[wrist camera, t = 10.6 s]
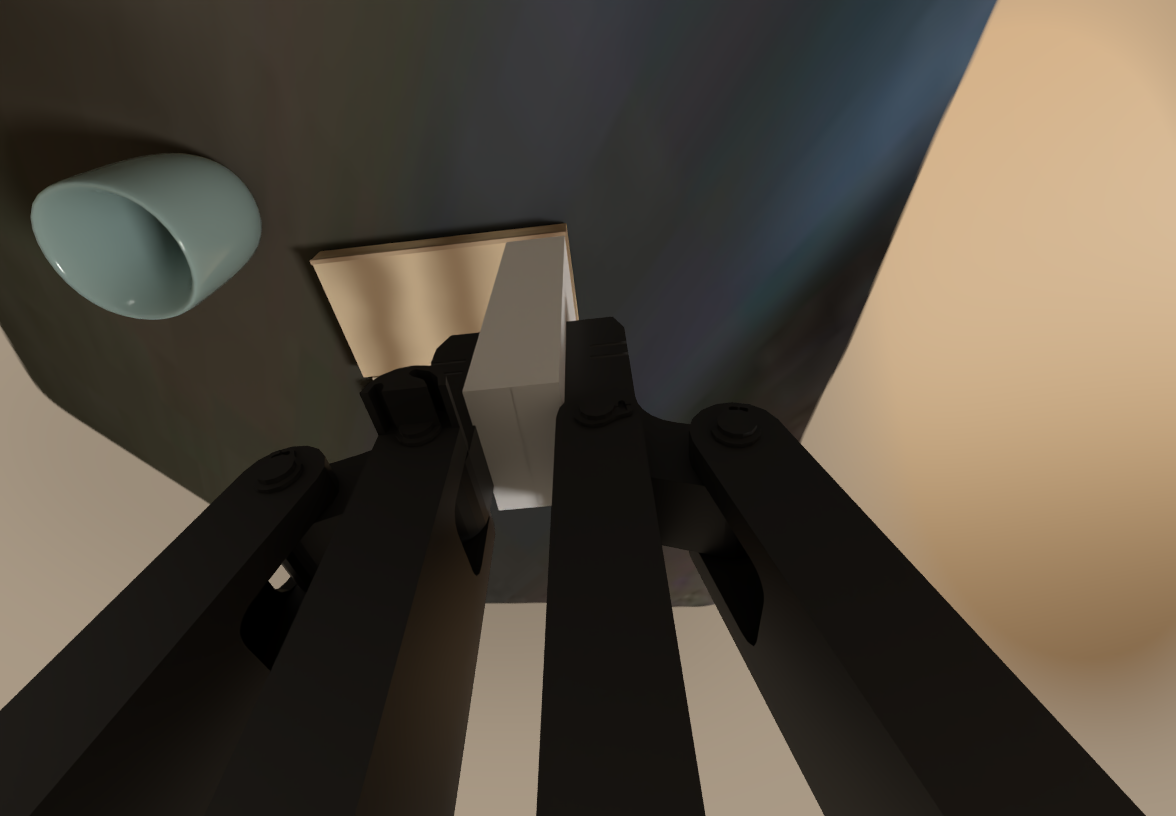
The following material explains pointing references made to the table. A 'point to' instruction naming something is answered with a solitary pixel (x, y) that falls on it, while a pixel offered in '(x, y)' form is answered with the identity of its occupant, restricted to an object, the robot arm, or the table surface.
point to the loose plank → (416, 292)
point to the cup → (148, 232)
